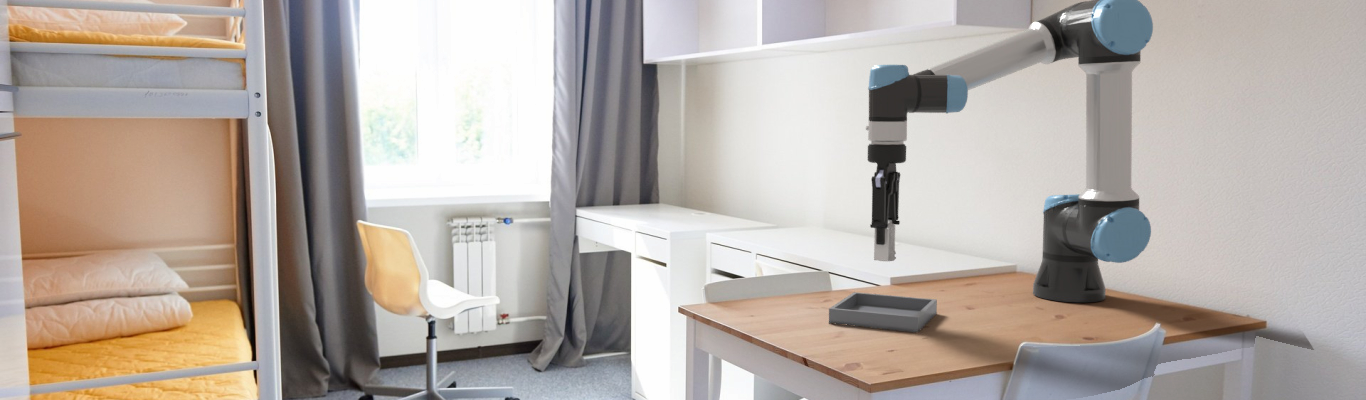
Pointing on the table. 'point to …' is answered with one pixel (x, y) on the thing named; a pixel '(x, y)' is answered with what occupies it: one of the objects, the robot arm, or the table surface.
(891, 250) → the rook chess piece
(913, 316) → the tray
